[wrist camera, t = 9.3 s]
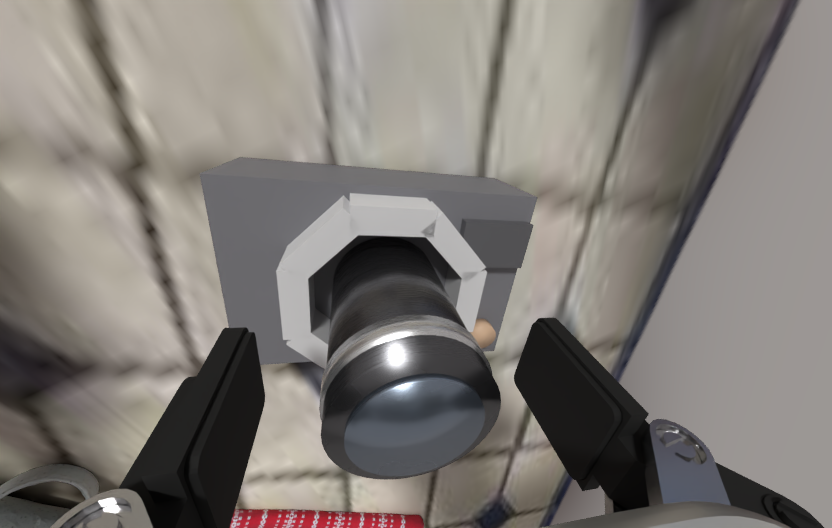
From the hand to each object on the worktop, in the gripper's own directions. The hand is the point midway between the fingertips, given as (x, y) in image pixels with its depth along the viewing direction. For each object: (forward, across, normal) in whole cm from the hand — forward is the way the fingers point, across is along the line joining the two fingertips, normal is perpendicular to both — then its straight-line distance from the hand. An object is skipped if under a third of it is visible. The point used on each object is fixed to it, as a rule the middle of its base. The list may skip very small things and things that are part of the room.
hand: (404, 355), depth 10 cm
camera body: (+11, 0, +1) cm, 11 cm away
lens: (+6, 0, +1) cm, 6 cm away
